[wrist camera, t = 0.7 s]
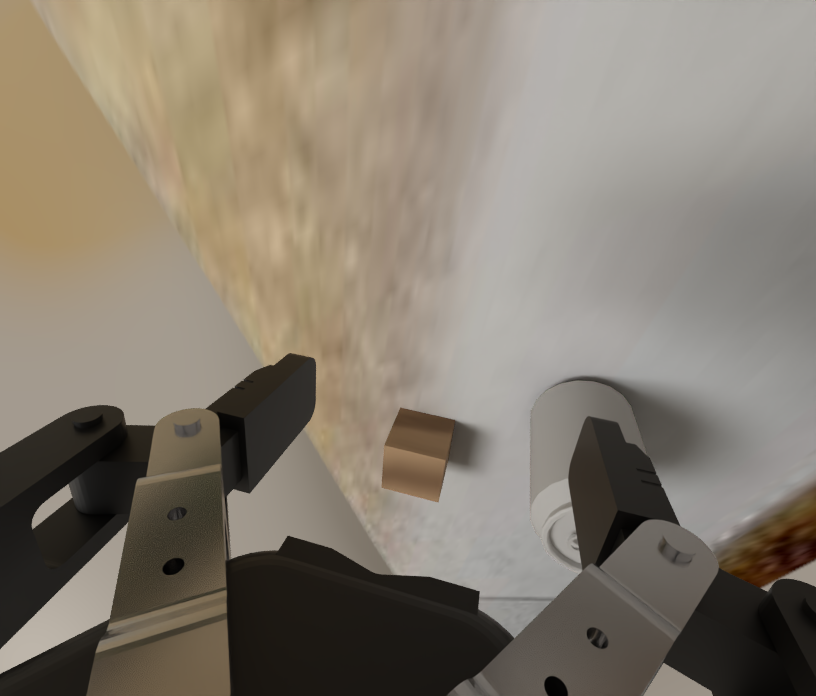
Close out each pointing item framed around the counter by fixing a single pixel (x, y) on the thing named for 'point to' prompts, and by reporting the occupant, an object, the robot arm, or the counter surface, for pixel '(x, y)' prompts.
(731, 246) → the counter surface
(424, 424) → the block
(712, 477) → the counter surface
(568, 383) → the can
